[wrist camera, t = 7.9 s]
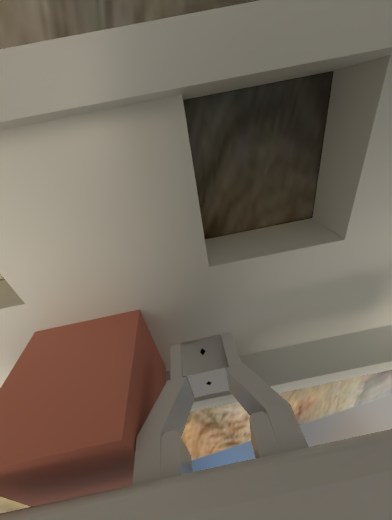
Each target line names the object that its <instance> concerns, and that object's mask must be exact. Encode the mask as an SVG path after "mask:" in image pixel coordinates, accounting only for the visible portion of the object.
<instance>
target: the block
mask: <svg viewBox="0 0 392 520" xmlns="http://www.w3.org/2000/svg"><path fill="white" fill-rule="evenodd" d="M165 384H166V367H165V365H164V362H163V360H162V358H161V356H160V354H159V351H158V349H157V347H156V345H155V343H154V340H153V338H152V336H151V334H150V331H149V329H148V327H147V325H146V323H145V320H144V318H143V316H142V314H141V312H140V310H135V311H130V312H126V313H121V314H116V315H112V316H107V317H102V318H97V319H93V320H88V321H83V322H79V323H74V324H69V325H64V326H60V327H55V328H50V329H46V330H41V331H36V332H35V333H34V334H33V336H32V338H31V339H30V341H29V342H28V344H27V346H26V347H25V349H24V351H23V352H22V354H21V355H20V357H19V359H18V360H17V362H16V364H15V365H14V367H13V369H12V370H11V372H10V373H9V375H8V377H7V378H6V380H5V382H4V383H3V385H2V387H1V388H0V496H1V497H4V498H7V499H10V500H13V501H16V502H19V503H22V504H25V505H28V506H31V507H34V506H38V505H43V504H48V503H52V502H57V501H61V500H66V499H71V498H75V497H80V496H85V495H89V494H94V493H98V492H103V491H108V490H112V489H117V488H122V487H126V486H131V485H132V482H133V471H134V461H135V450H136V440H137V436H138V434H139V432H140V430H141V428H142V426H143V425H144V423H145V421H146V419H147V417H148V415H149V413H150V412H151V410H152V408H153V406H154V404H155V402H156V400H157V399H158V397H159V395H160V393H161V391H162V389H163V387H164V386H165Z"/></svg>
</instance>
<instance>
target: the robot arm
mask: <svg viewBox="0 0 392 520" xmlns="http://www.w3.org/2000/svg"><path fill="white" fill-rule="evenodd" d="M223 391H230V392H231V394H232V395H233V396H234V397H235V398H236V400H237V401H238V402H239V403H240V404H241V405H242V407H243V408H244V409H245V410H246V411H247V413H248V414H249V415H250V430H251V442H252V446H253V450H254V454H255V458H256V459H251V460H247V461H242V462H238V463H233V464H228V465H224V466H219V467H215V468H210V469H205V470H200V471H196V472H193V471H192V460H191V454H190V452H189V451H188V449H187V447H186V445H185V443H184V441H183V440H182V438H181V436H182V433H183V430H184V428H185V425H186V422H187V419H188V416H189V414H190V411H191V408H192V405H193V402H194V400H195V399H194V398H196V397H200V396H204V395H208V394H212V393H218V392H223ZM0 520H392V429H390V430H386V431H381V432H376V433H372V434H367V435H363V436H358V437H353V438H349V439H344V440H339V441H335V442H330V443H325V444H321V445H316V446H312V447H308V444H307V442H306V440H305V438H304V435H303V433H302V431H301V428H300V426H299V424H298V421H297V419H296V417H295V415H294V412H293V410H292V408H291V405H290V404H289V403H288V402H287V401H286V400H284V399H283V398H282V397H281V396H280V395H279V394H278V393H277V392H275V391H274V390H273V389H272V388H271V387H270V386H269V385H268V384H266V383H265V382H264V381H263V380H262V379H261V378H260V377H259V376H258V375H256V374H255V373H254V372H253V371H252V370H251V369H250V368H249V367H247V366H246V365H245V364H243V365H241V361H240V358H239V355H238V352H237V349H236V345H235V342H234V339H233V336H232V333H231V332H229V333H225V334H221V335H220V334H219V335H215V336H210V337H206V338H202V339H199V340H193V341H188V342H183V343H178V344H173V345H170V380H168V381H167V382H166V384H165V386H164V387H163V389H162V391H161V393H160V395H159V397H158V399H157V400H156V402H155V404H154V406H153V408H152V410H151V412H150V413H149V415H148V417H147V419H146V421H145V423H144V425H143V426H142V428H141V430H140V432H139V434H138V436H137V440H136V450H135V461H134V471H133V482H132V485H131V486H126V487H122V488H117V489H112V490H108V491H103V492H98V493H94V494H89V495H85V496H80V497H75V498H71V499H66V500H61V501H57V502H52V503H48V504H43V505H38V506H34V507H29V508H24V509H20V510H15V511H10V512H6V513H1V514H0Z"/></svg>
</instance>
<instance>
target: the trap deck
mask: <svg viewBox="0 0 392 520" xmlns="http://www.w3.org/2000/svg"><path fill="white" fill-rule="evenodd" d="M331 71H334V73H333V79H332V86H331V93H330V100H329V107H328V114H327V121H326V128H325V135H324V142H323V148H322V155H321V162H320V169H319V176H318V183H317V190H316V197H315V204H314V210H313V217H312V218H309V219H304V220H299V221H294V222H289V223H284V224H279V225H274V226H269V227H264V228H259V229H254V230H249V231H244V232H239V233H234V234H229V235H224V236H219V237H214V238H209V239H205V238H204V231H203V225H202V218H201V212H200V206H199V199H198V193H197V186H196V180H195V174H194V167H193V161H192V155H191V148H190V142H189V135H188V129H187V123H186V116H185V110H184V103H183V100H185V99H191V98H196V97H201V96H206V95H211V94H217V93H222V92H227V91H232V90H237V89H243V88H248V87H253V86H258V85H263V84H269V83H274V82H279V81H284V80H289V79H295V78H300V77H305V76H310V75H315V74H321V73H326V72H331ZM0 274H1V275H2V276H3V278H4V280H0V388H1V387H2V385H3V383H4V382H5V380H6V378H7V377H8V375H9V373H10V372H11V370H12V369H13V367H14V365H15V364H16V362H17V360H18V359H19V357H20V355H21V354H22V352H23V351H24V349H25V347H26V346H27V344H28V342H29V341H30V339H31V338H32V336H33V334H34V333H35V332H36V331H41V330H46V329H50V328H55V327H60V326H64V325H69V324H74V323H79V322H83V321H88V320H93V319H97V318H102V317H107V316H112V315H116V314H121V313H126V312H130V311H135V310H140V312H141V314H142V316H143V318H144V320H145V323H146V325H147V327H148V329H149V331H150V334H151V336H152V338H153V340H154V343H155V345H156V347H157V349H158V351H159V354H160V356H161V358H162V360H163V362H164V365H165V367H166V382H167V381H168V380H170V345H173V344H178V343H183V342H188V341H193V340H199V339H202V338H206V337H210V336H215V335H219V334H220V335H221V334H225V333H229V332H231V333H232V336H233V339H234V342H235V345H236V349H237V352H238V355H239V358H240V361H241V365H243V364H245V365H246V366H247V367H249V368H250V369H251V370H252V371H253V372H254V373H255V374H256V375H258V376H259V377H260V378H261V379H262V380H263V381H264V382H265V383H266V384H268V385H269V386H270V387H271V388H272V389H273V390H274V391H275V392H277V393H283V392H288V391H293V390H297V389H302V388H307V387H312V386H317V385H321V384H326V383H331V382H336V381H341V380H345V379H350V378H355V377H360V376H365V375H369V374H374V373H379V372H384V371H389V370H392V0H259V1H253V2H248V3H243V4H238V5H232V6H227V7H222V8H216V9H211V10H206V11H200V12H195V13H190V14H184V15H179V16H174V17H169V18H163V19H158V20H153V21H147V22H142V23H137V24H131V25H126V26H121V27H115V28H110V29H105V30H99V31H94V32H89V33H84V34H78V35H73V36H68V37H62V38H57V39H52V40H46V41H41V42H36V43H30V44H25V45H20V46H14V47H9V48H4V49H0ZM194 399H195V400H194V402H193V405H192V408H191V411H190V412H192V411H197V410H201V409H206V408H211V407H216V406H221V405H225V404H230V403H235V402H238V401H237V400H236V398H235V397H234V396H233V395H232V394H231V392H230V391H223V392H218V393H212V394H208V395H204V396H200V397H196V398H194Z"/></svg>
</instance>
